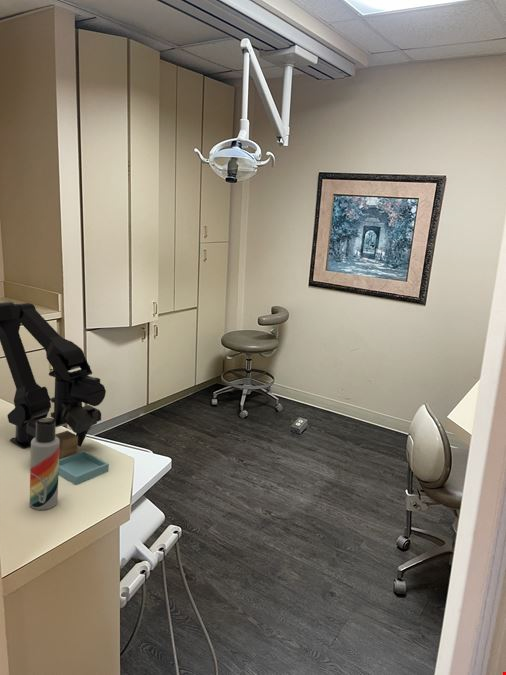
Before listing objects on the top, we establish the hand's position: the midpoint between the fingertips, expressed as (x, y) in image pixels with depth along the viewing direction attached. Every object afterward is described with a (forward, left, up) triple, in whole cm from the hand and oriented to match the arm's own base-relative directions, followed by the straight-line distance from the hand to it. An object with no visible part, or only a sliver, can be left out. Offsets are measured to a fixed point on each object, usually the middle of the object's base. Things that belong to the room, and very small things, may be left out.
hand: (64, 451), depth 131 cm
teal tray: (+9, -2, -1) cm, 9 cm away
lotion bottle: (+15, -16, -2) cm, 22 cm away
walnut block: (0, 0, -2) cm, 2 cm away
